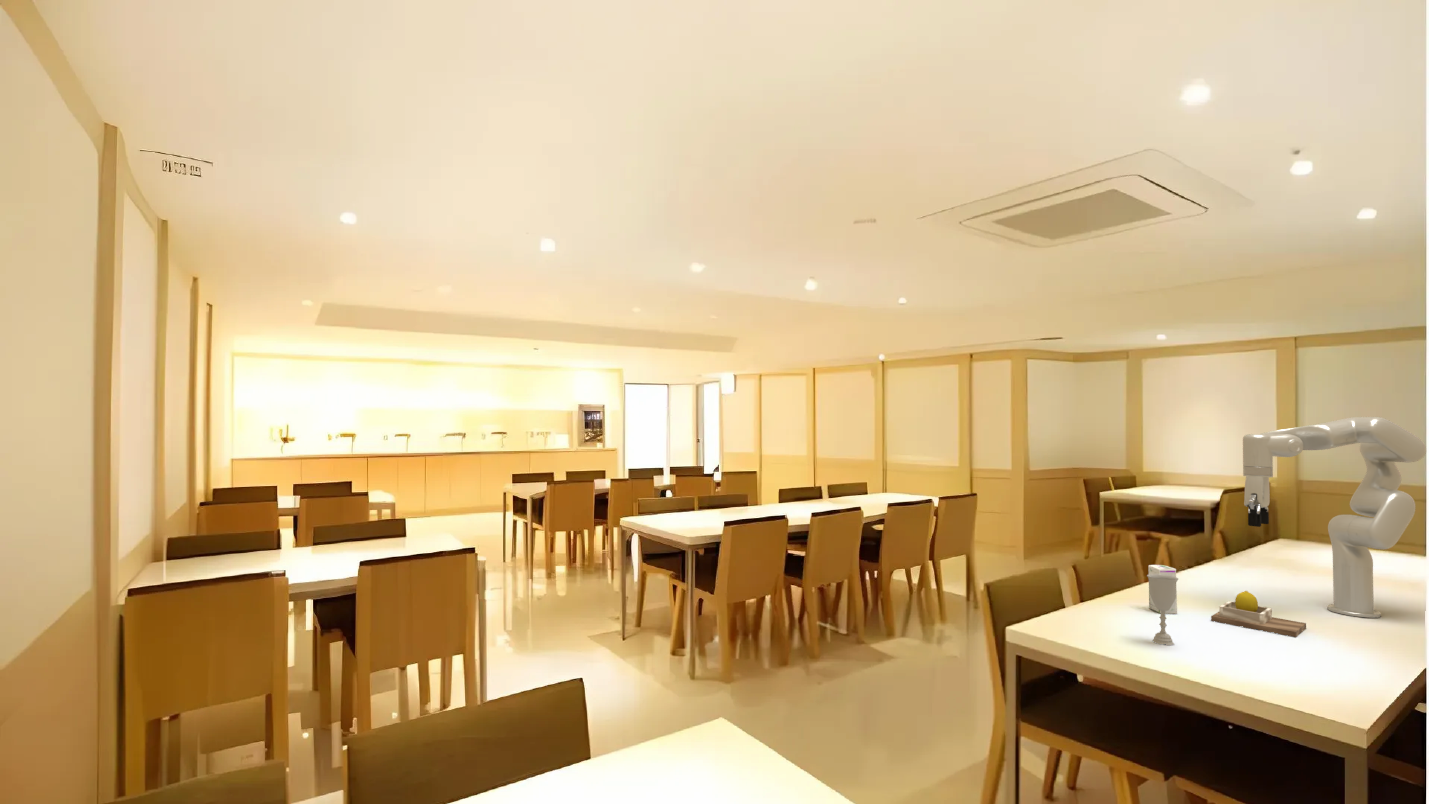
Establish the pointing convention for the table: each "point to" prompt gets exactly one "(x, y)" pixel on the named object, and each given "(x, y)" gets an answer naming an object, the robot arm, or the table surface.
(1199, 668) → the table surface
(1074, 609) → the table surface
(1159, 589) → the chalice
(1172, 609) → the syrup box
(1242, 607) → the lemon
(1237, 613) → the serving board
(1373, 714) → the table surface
